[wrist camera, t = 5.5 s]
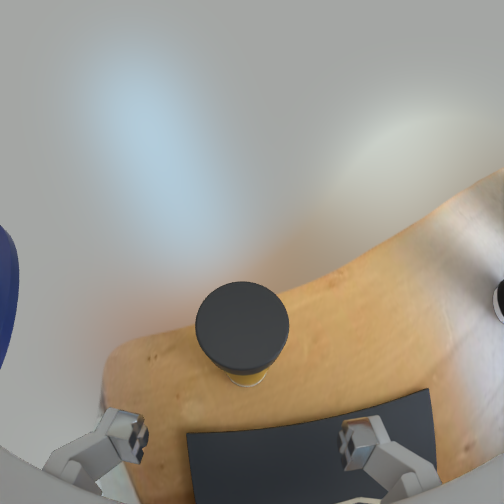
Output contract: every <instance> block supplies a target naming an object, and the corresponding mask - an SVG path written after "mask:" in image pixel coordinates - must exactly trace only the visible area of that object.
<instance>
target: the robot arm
mask: <svg viewBox="0 0 504 504" xmlns="http://www.w3.org/2000/svg"><path fill="white" fill-rule="evenodd" d="M144 420H145V419H144V417H143V415H141V414H137V413H132V412H128V411H124V410H120V409H115V408H111V407H109V408H108V409H107V410H106V412H105V414H104V416H103V417H102V419H101V421H100V423H99V425H98V426H97V428H96V430H95V432H90V433H88V434H86V435H84V436H82V437H80V438H78V439H76V440H74V441H72V442H70V443H68V444H66V445H64V446H62V447H60V448H58V449H56V450H54V451H53V452H52V454H51V455H50V457H49V459H48V460H47V462H46V464H45V466H44V467H43V469H42V470H40V469H39V468H37V467H35V466H33V465H31V464H29V463H28V462H26V461H24V460H22V459H21V458H19V457H17V456H16V455H14V454H12V453H11V452H9V451H8V450H6V449H5V448H3V447H2V446H0V504H125V503H122V502H118V501H115V500H112V499H109V498H106V497H103V496H101V495H102V491H101V489H100V488H99V487H98V485H97V484H96V483H95V481H97V480H98V479H100V478H101V477H102V476H104V475H105V474H106V473H108V472H109V471H110V470H111V469H113V468H114V467H115V466H117V465H118V464H119V463H120V462H122V461H126V462H130V463H135V464H140V463H141V460H142V457H143V454H144V453H143V450H142V448H144V447H145V446H147V443H148V437H149V432H148V428H147V426H146V425H145V424H144ZM341 426H342V430H341V431H340V432H339V434H338V437H337V446H338V451H339V452H340V453H341V454H343V456H342V458H341V462H342V466H343V470H344V471H349V470H356V469H362V468H363V470H364V471H365V472H367V473H368V474H369V475H370V476H371V477H372V478H373V479H374V480H376V481H377V482H378V483H379V484H380V485H381V486H383V487H384V488H385V489H386V490H387V491H388V493H387V494H386V495H385V497H384V498H383V499H382V500H381V501H380V503H381V504H504V454H500V455H498V456H496V457H495V458H493V459H491V460H490V461H488V462H486V463H484V464H483V465H481V466H479V467H477V468H475V469H474V470H472V471H470V472H468V473H466V474H464V475H462V476H460V477H458V478H456V479H453V480H451V481H449V482H447V483H445V484H442V482H441V480H440V478H439V476H438V474H437V472H436V470H435V468H434V466H433V464H432V463H430V462H428V461H427V460H425V459H423V458H421V457H420V456H418V455H416V454H415V453H413V452H411V451H410V450H408V449H406V448H405V447H403V446H401V445H400V444H398V443H397V442H395V441H392V442H391V440H390V438H389V436H388V433H387V431H386V429H385V427H384V425H383V422H382V420H381V418H380V416H378V415H375V416H369V417H362V418H355V419H349V420H344V421H343V423H342V425H341ZM121 460H122V461H121Z"/></svg>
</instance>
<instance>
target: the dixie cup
mask: <svg viewBox="0 0 504 504" xmlns="http://www.w3.org/2000/svg"><path fill="white" fill-rule="evenodd" d="M493 305H494V309H495V312H496V315H497V317H498V318H499V320H500V321H501V322H503V323H504V280H503V281H502V282H501V283H500V284H499V286H498V288H497V289H496V290H495V291H494V295H493Z"/></svg>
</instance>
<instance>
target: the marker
mask: <svg viewBox="0 0 504 504" xmlns="http://www.w3.org/2000/svg"><path fill="white" fill-rule="evenodd" d="M195 330H196V336H197V340H198V342H199V345H200V347H201V348H202V350H203V351H204V353H205V354H206V355H207V356H208V357H209V358H210V360H211V361H212V362H213V363H214V364H215V365H216V366H218V367H219V368H220V369H222V370H223V371H224V372H225V373H226V374H227V375H228V377H229V378H230V379H231V381H232V382H234V383H235V384H237V385H239V386H242V387H252V386H255V385H257V384H258V383H260V382H261V381H262V380H263V378H264V377H265V375H266V373H267V370H268V368H269V367H270V365H272V363H273V362H274V361H275V360H276V359H277V357H278V356H279V354H280V352H281V351H282V349H283V347H284V345H285V343H286V341H287V338H288V333H289V318H288V314H287V311H286V309H285V307H284V305H283V303H282V302H281V300H280V299H279V298H278V297H277V296H276V295H275V294H274V293H273V292H272V291H270V290H269V289H267V288H266V287H264V286H261V285H259V284H256V283H251V282H232V283H229V284H226V285H223V286H221V287H219V288H217V289H216V290H214V291H213V292H211V293H210V294H209V295H208V296H207V298H206V299H205V300H204V301H203V303H202V304H201V306H200V308H199V310H198V313H197V316H196V322H195Z"/></svg>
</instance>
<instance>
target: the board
mask: <svg viewBox="0 0 504 504" xmlns="http://www.w3.org/2000/svg"><path fill="white" fill-rule="evenodd" d="M375 415H378V416H380V418H381V420H382V422H383V425H384V427H385V429H386V431H387V433H388V436H389V438H390V440H391V442H392V441H395V442H397V443H398V444H400V445H401V446H403V447H405V448H406V449H408V450H410V451H411V452H413V453H415V454H416V455H418V456H420V457H421V458H423V459H425V460H427V461H428V462H430V463H432V464H433V466H434V468H435V470H436V472H437V461H436V444H435V433H434V423H433V414H432V407H431V400H430V393H429V388H427V389H423V390H421V391H418V392H415V393H413V394H410V395H407V396H404V397H401V398H398V399H395V400H392V401H389V402H386V403H383V404H380V405H376V406H373V407H370V408H366V409H362V410H359V411H355V412H351V413H347V414H343V415H339V416H334V417H330V418H325V419H320V420H315V421H310V422H304V423H299V424H293V425H286V426H279V427H272V428H263V429H254V430H243V431H229V432H206V433H187V434H186V436H187V445H188V454H189V462H190V469H191V476H192V483H193V490H194V496H195V502H196V504H381V503H380V501H381V500H382V499H383V498H384V497H385V495H386V494H387V493H388V491H387V490H386V489H385V488H384V487H383V486H381V485H380V484H379V483H378V482H377V481H376V480H374V479H373V478H372V477H371V476H370V475H369V474H368V473H367V472H365V471H364V470H363V468H362V469H356V470H349V471H344V470H343V466H342V462H341V458H342V456H343V454H341V453H340V452H339V451H338V446H337V437H338V434H339V432H340V431H341V430H342V426H341V425H342V423H343V421H344V420H349V419H355V418H362V417H369V416H375Z"/></svg>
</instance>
